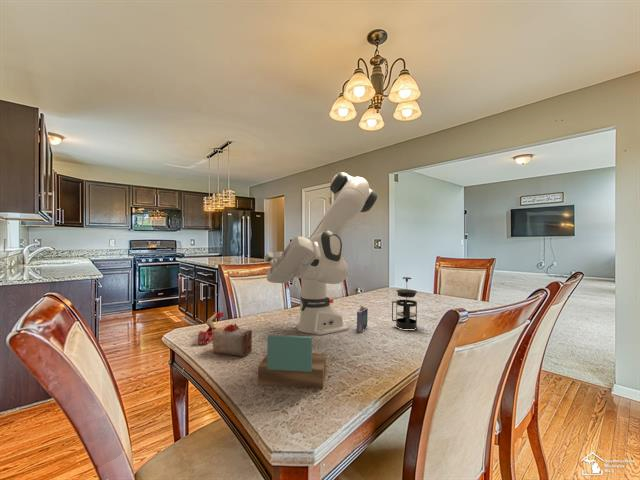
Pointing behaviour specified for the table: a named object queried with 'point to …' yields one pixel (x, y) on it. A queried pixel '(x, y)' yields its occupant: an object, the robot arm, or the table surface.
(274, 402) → the table surface
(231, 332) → the grey paint-stained brick
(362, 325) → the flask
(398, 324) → the french press
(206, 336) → the toy fire truck
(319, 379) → the brown wooden block
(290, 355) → the teal rectangular block
